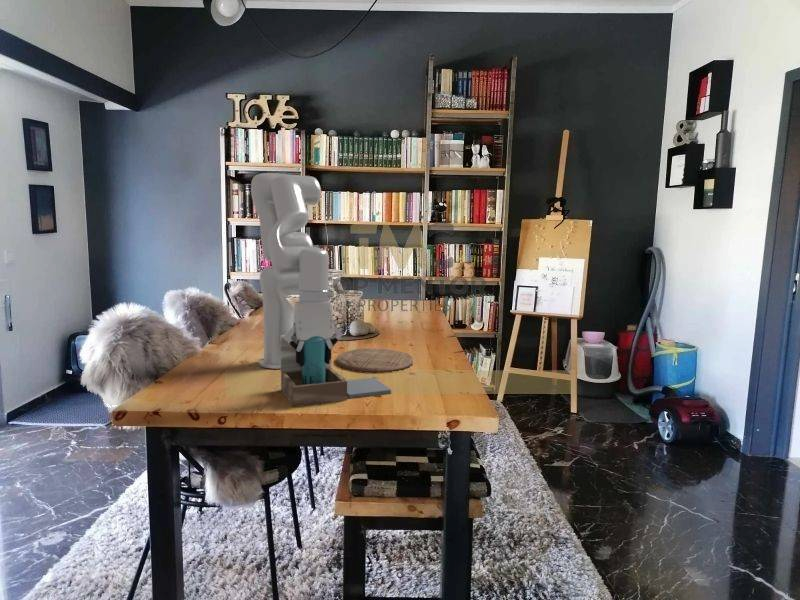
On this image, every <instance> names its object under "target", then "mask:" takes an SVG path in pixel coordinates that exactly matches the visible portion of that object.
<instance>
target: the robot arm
mask: <svg viewBox="0 0 800 600" xmlns="http://www.w3.org/2000/svg"><path fill="white" fill-rule="evenodd" d="M250 192H251V193H250V194H251V199H252V203H253V206H254V208H255V210H256V212H257V215H258V219H259V220H258V221H259V229H260V238H261V239H260V241H261V251H262V254H263V257H264V259H265V260H267V261H269V262H271V265H270V266H266V267H264V268H263V269H262V270H261V272H260V274H259V284H260V289H261V297H262V308H263V310H262V311H263V312H262V313H263V314H262V315H263V318H262V319H263V324H262V325H263V357H262V358H260V359H259V360H258V365H259V366H260V367H262V368H266V369H277V370H278V369H279V370H281V336H282V335H284V336H283V338H284V339H285V340H286V341H287V342H288V343H289V344H290V345H291V346H292V347H293V348H294V349H295V350H296V363H298V365H299V366H303V351H302V347H303V344H304V341H306V340H308V339H309V338H311V337H314V336H319V337H322V338H324V339H325V363H326V364H329V363H330V360H331V361H332V349H333V348H334V346H335V345H336V344H337V343H338V341H339V340H340V339H341V338H342V337H343V335H344V333H343V332H342V330H340V329H339V328H338V327H337V326H335V325H334V314H333V308H332V302H331V301H330V299H331V298H332V297H334V291H330V289H329V274H330V273H329V271H330V270H329V267H330V266H329V265H330V264H329V263H330V260H329V252H328V250H326V249H321V248H320V247H317V246H314V243H313V240H312V239H311V236H310V235H309V234H308V233H306V232H301V231H299V230H301V229H303V228H304V227H305V226H306V225H307V223H308V222H309V220H310V219H309V218H310V217H309V213H308V210H307V206H316V205H317V204H319V202H320V201H321V199H322V188H321V185H320V182H319V181H318V179H317V178H316V177H314V176H310V175H300V174H289V173H288V174H286V173H277V172H276V173H275V172H274V173H272V172H266V173H264V172H262V173H258V174H256V175H254V176H253V178H252V180H251V184H250ZM288 296H290V297H291V296H298V300H297V301H295V304H294V306H293V305H292V304H291V302H290V301H289V300H288V299H287V297H288ZM334 333H335V334H334ZM292 335H293V336H294V337H295V338H297V341H296V343H295V342H294V341H293V340H292V339H291V336H292ZM330 338H331V340H330Z"/></svg>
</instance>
